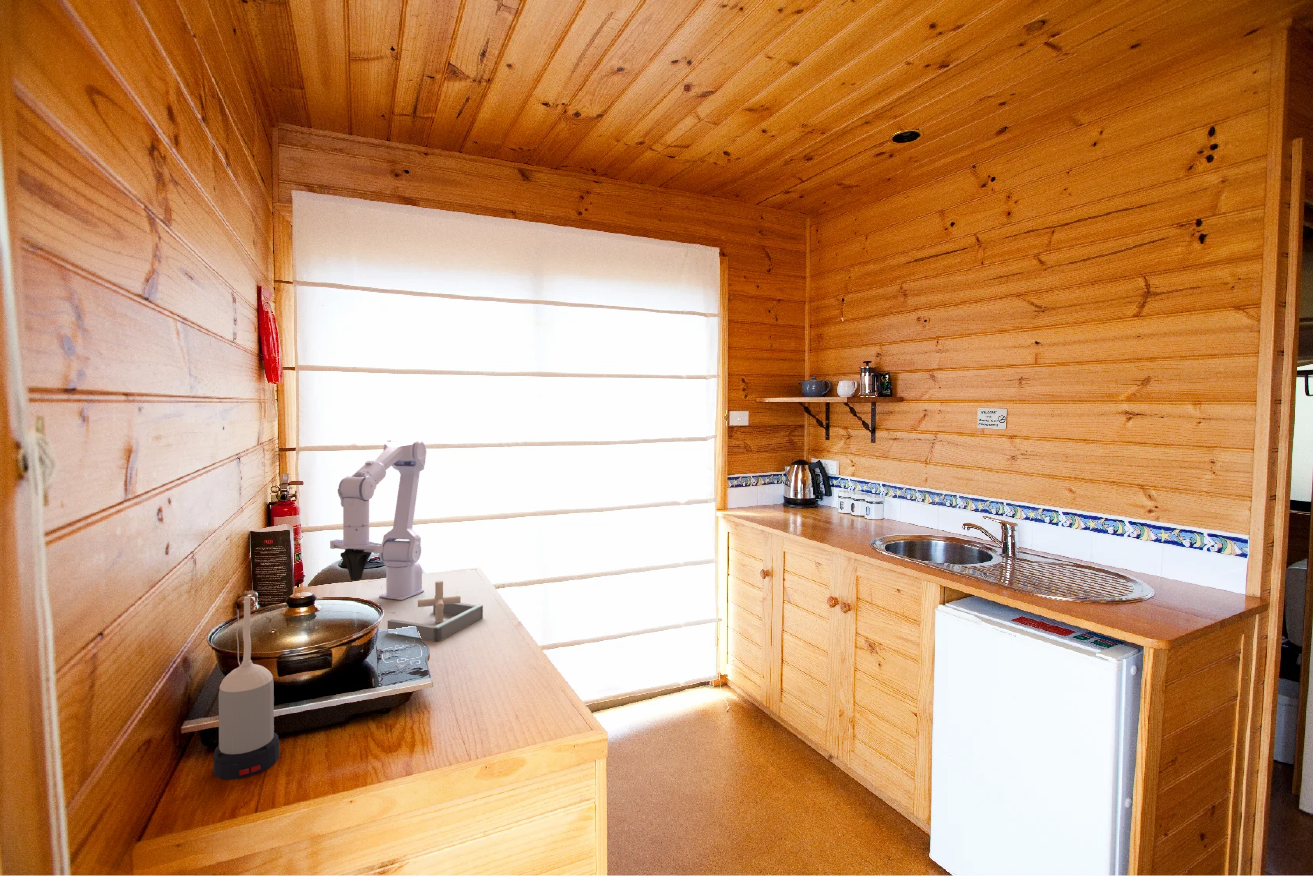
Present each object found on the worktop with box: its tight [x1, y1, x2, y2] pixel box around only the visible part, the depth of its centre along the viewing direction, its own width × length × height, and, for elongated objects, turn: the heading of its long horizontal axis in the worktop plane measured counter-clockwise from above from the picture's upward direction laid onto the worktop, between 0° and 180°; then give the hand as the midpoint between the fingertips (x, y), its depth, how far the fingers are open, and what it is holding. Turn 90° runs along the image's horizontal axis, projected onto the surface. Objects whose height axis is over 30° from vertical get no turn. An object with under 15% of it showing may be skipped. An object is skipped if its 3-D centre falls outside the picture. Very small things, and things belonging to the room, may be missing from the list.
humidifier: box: [212, 595, 280, 781], centre depth 90 cm, size 8×8×25 cm
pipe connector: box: [417, 580, 462, 624], centre depth 151 cm, size 10×10×10 cm
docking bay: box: [387, 602, 484, 643], centre depth 149 cm, size 14×17×3 cm
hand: (356, 579), depth 150 cm, fingers closed
